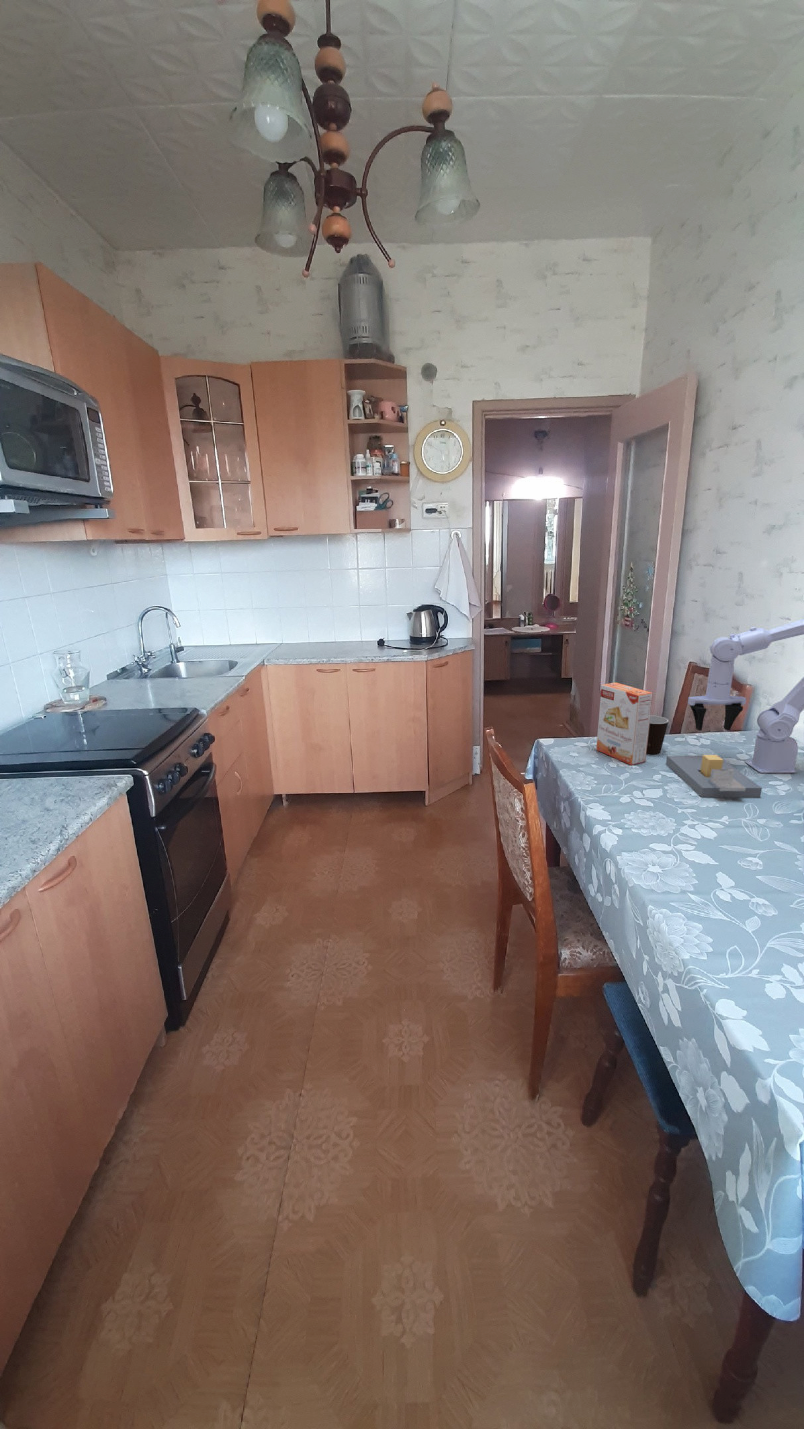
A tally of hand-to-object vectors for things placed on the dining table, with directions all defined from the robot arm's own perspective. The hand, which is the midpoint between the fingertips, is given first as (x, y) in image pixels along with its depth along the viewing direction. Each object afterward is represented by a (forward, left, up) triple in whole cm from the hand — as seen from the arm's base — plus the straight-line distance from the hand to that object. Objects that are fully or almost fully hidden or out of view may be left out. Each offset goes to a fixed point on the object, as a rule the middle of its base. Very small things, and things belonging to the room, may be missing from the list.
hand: (712, 729), depth 158 cm
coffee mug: (+13, -11, -10) cm, 20 cm away
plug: (+6, +14, -10) cm, 18 cm away
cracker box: (+23, -5, -10) cm, 26 cm away
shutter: (+6, +22, -7) cm, 24 cm away
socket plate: (+5, +12, -10) cm, 16 cm away
